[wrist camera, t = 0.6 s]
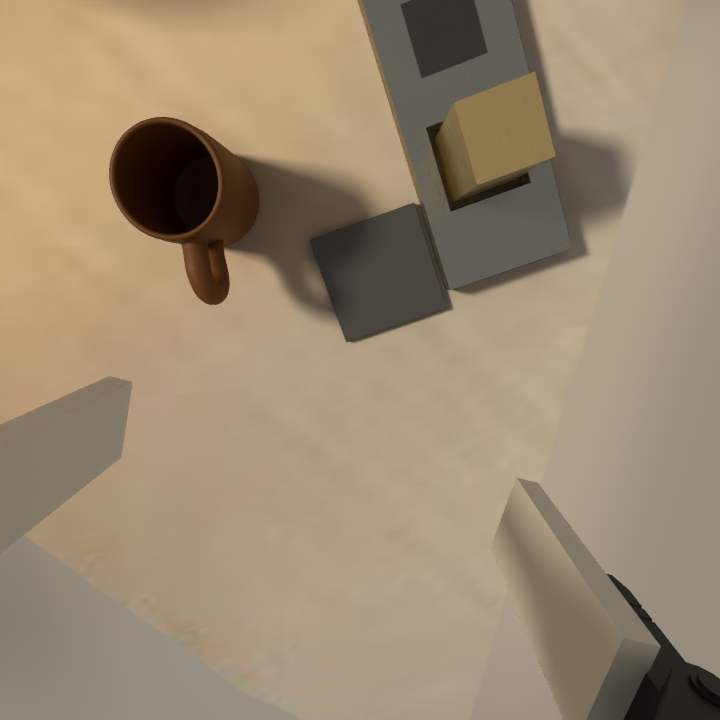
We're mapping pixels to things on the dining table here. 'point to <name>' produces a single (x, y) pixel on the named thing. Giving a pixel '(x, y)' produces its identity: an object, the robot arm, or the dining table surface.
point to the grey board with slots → (428, 112)
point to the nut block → (494, 137)
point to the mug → (185, 196)
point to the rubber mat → (379, 272)
